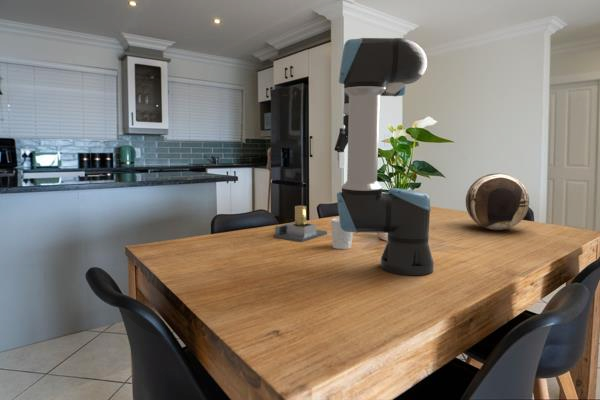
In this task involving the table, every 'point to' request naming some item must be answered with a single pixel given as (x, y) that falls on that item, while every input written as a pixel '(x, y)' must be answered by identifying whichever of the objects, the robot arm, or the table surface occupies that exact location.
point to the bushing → (300, 216)
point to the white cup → (340, 236)
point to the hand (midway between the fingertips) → (351, 168)
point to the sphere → (497, 201)
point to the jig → (298, 232)
